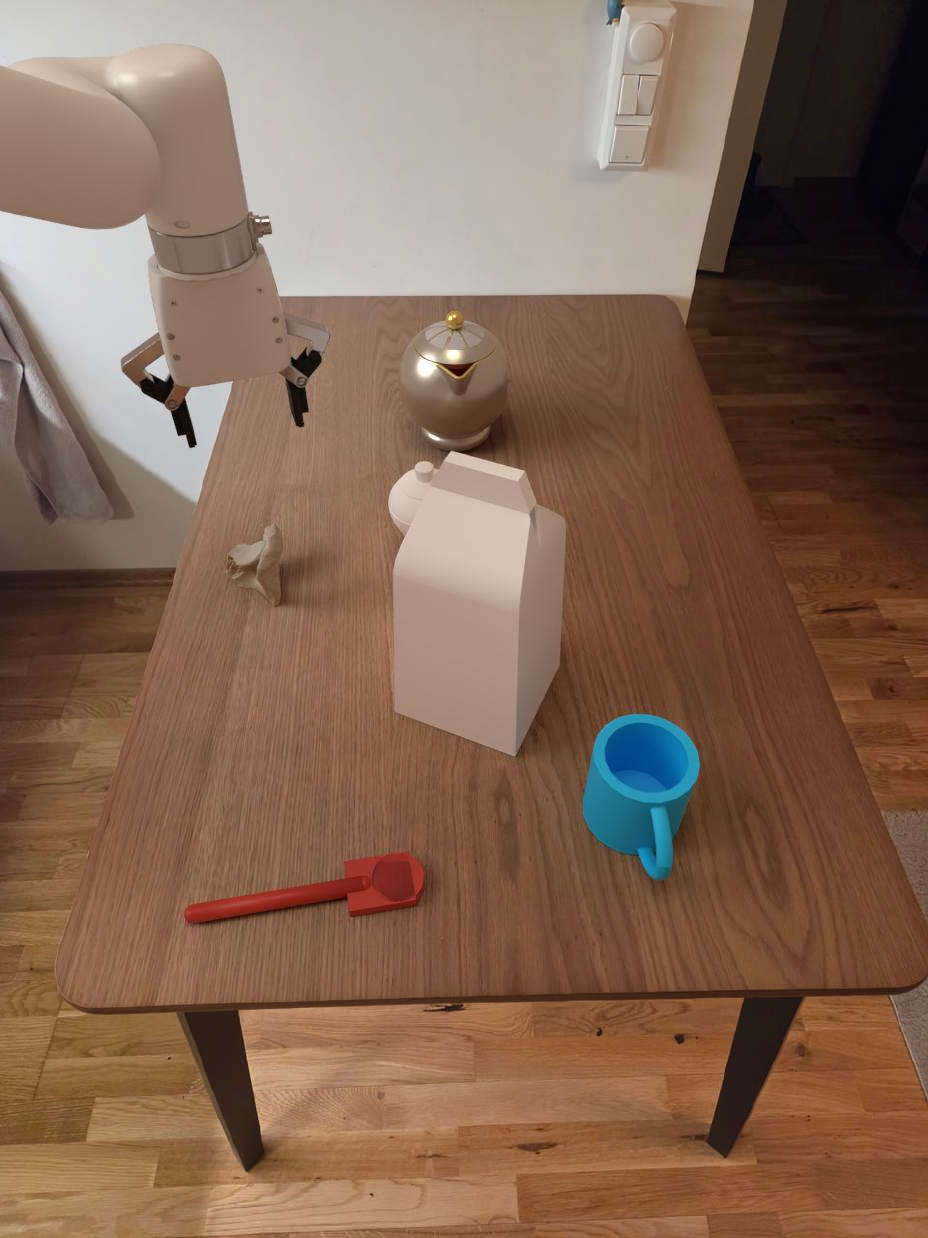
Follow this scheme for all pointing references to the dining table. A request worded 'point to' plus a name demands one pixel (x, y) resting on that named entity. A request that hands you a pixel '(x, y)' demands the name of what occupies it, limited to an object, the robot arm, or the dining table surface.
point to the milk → (478, 604)
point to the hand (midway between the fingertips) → (245, 428)
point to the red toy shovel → (333, 890)
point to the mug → (640, 788)
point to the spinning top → (410, 494)
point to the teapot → (455, 382)
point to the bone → (258, 564)
